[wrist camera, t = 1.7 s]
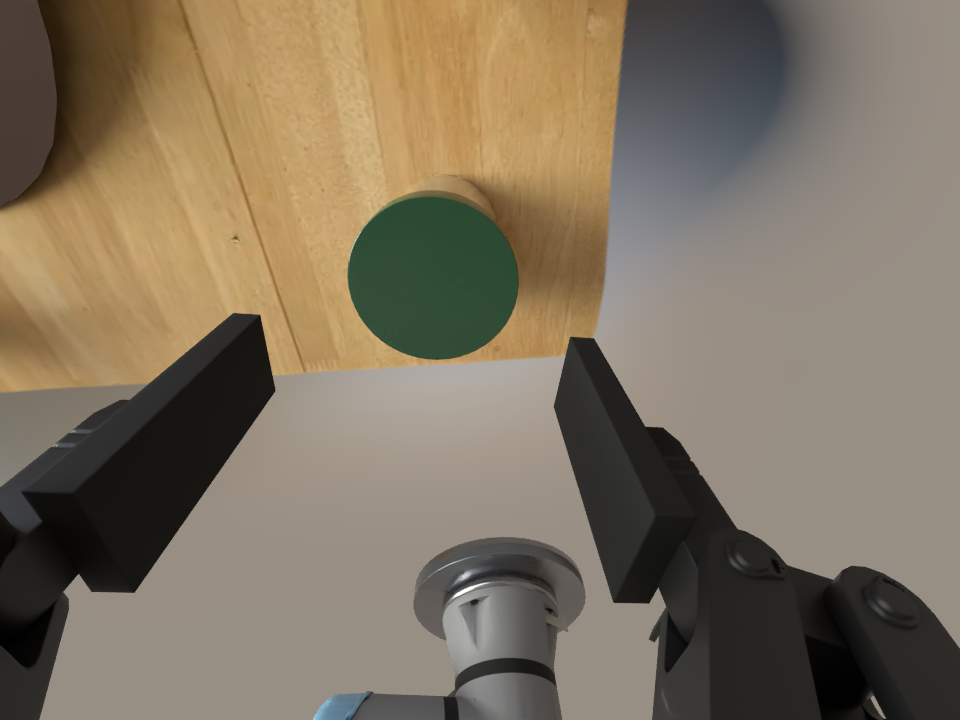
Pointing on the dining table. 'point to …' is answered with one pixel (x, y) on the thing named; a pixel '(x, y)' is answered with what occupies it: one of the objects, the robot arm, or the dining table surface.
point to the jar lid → (433, 275)
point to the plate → (24, 96)
